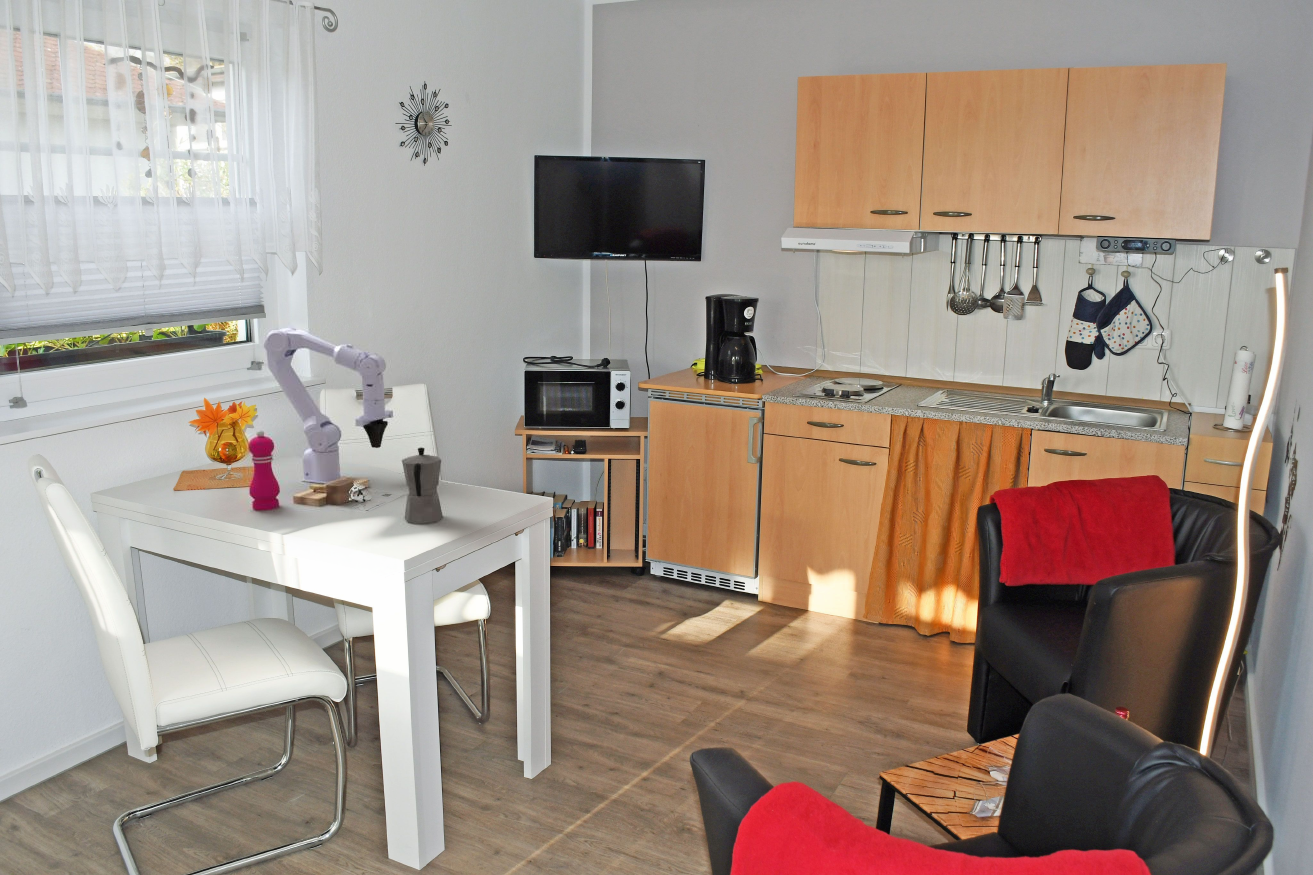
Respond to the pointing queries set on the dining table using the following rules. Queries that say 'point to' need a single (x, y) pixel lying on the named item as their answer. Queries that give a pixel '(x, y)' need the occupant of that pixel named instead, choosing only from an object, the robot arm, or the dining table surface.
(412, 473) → the coffeepot
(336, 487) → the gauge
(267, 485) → the pepper mill
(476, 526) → the dining table surface
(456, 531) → the dining table surface
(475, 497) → the dining table surface
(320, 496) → the board
